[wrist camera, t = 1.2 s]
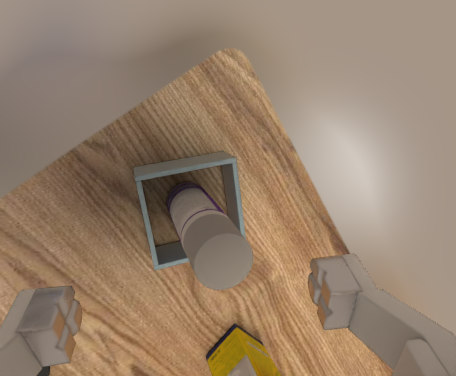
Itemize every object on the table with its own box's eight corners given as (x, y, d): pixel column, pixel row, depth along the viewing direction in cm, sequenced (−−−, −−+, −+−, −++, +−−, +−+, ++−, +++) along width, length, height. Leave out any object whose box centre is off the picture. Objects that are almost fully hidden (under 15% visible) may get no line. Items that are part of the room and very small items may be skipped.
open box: (133, 167, 35) (134, 176, 31) (223, 150, 37) (236, 157, 33) (151, 251, 38) (154, 270, 34) (234, 231, 40) (246, 246, 36)
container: (211, 214, 39) (259, 279, 25) (172, 226, 38) (199, 300, 24) (202, 177, 37) (249, 223, 23) (162, 187, 36) (185, 243, 22)
